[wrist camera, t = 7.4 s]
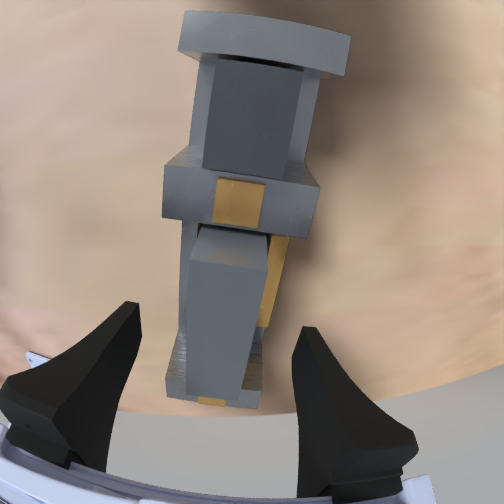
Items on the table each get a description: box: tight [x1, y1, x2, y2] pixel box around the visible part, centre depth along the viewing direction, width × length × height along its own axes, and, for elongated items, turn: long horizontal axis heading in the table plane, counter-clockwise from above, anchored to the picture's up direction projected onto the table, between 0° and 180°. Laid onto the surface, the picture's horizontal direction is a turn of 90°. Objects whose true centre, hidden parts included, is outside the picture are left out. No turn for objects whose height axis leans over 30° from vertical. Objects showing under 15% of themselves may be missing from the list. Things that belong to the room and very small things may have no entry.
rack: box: [162, 10, 351, 409], centre depth 14 cm, size 19×6×6 cm, turn 171°
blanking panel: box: [186, 223, 268, 401], centre depth 15 cm, size 8×2×7 cm, turn 171°
